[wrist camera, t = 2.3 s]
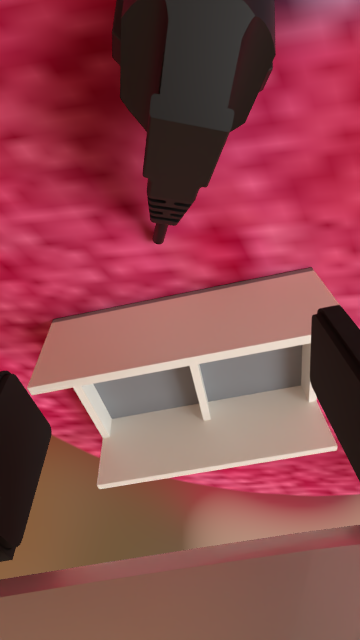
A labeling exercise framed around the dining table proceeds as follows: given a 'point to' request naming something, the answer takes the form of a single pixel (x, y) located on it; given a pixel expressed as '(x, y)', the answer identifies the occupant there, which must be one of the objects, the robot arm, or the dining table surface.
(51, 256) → the dining table surface
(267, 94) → the dining table surface
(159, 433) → the two-cubby white shelf
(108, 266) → the dining table surface
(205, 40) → the power plug
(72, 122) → the dining table surface
